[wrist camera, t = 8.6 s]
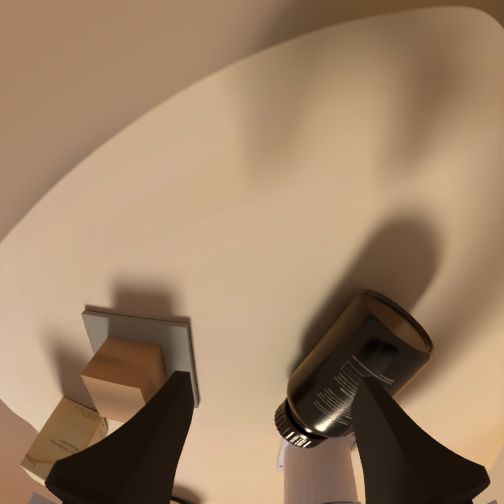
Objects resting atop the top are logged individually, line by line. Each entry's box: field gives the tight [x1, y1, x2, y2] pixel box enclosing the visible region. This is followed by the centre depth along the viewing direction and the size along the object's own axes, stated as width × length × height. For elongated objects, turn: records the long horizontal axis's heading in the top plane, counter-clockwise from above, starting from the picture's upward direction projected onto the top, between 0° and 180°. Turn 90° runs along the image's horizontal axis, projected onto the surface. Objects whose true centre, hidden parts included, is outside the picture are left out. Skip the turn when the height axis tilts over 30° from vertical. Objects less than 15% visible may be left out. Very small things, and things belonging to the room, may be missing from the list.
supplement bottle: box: [274, 290, 434, 449], centre depth 19 cm, size 7×7×12 cm
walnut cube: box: [81, 337, 168, 423], centre depth 20 cm, size 5×5×5 cm
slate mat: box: [82, 310, 199, 408], centre depth 23 cm, size 10×10×1 cm
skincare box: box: [20, 397, 108, 486], centre depth 23 cm, size 6×4×12 cm
